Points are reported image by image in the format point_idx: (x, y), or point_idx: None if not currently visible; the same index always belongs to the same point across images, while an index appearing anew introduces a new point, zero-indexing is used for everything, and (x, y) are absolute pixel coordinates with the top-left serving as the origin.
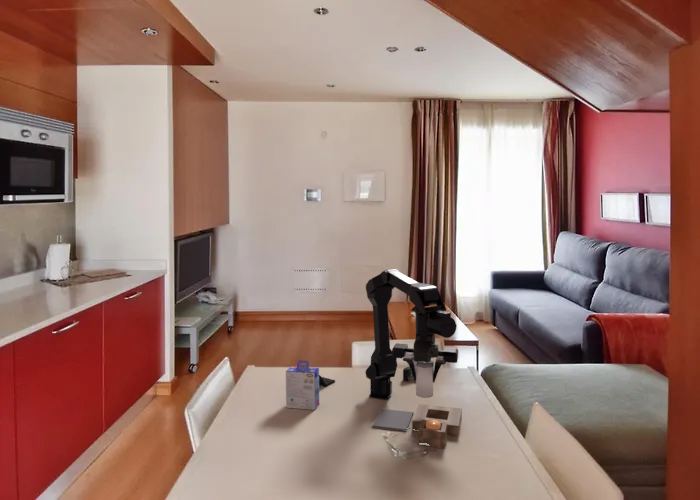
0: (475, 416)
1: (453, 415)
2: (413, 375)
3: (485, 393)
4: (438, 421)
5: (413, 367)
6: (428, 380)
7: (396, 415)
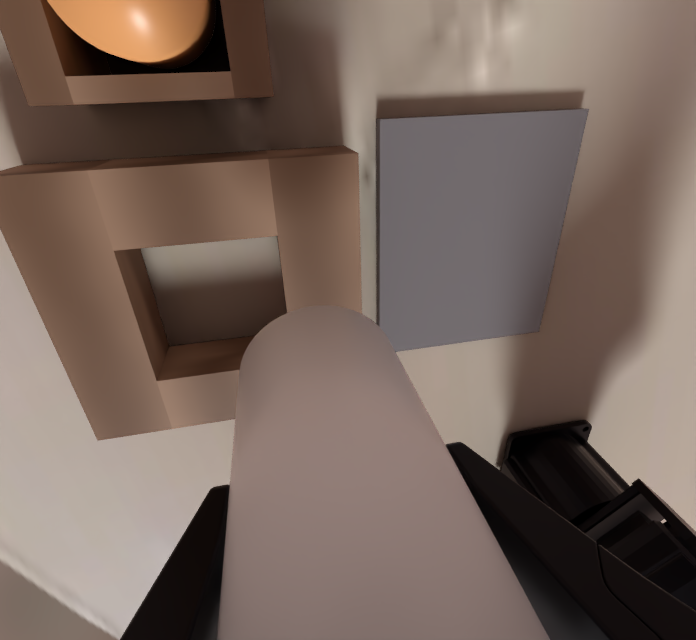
0: (52, 442)
1: (102, 333)
2: (511, 485)
3: (114, 629)
4: (80, 29)
5: (612, 616)
6: (272, 458)
7: (459, 286)
